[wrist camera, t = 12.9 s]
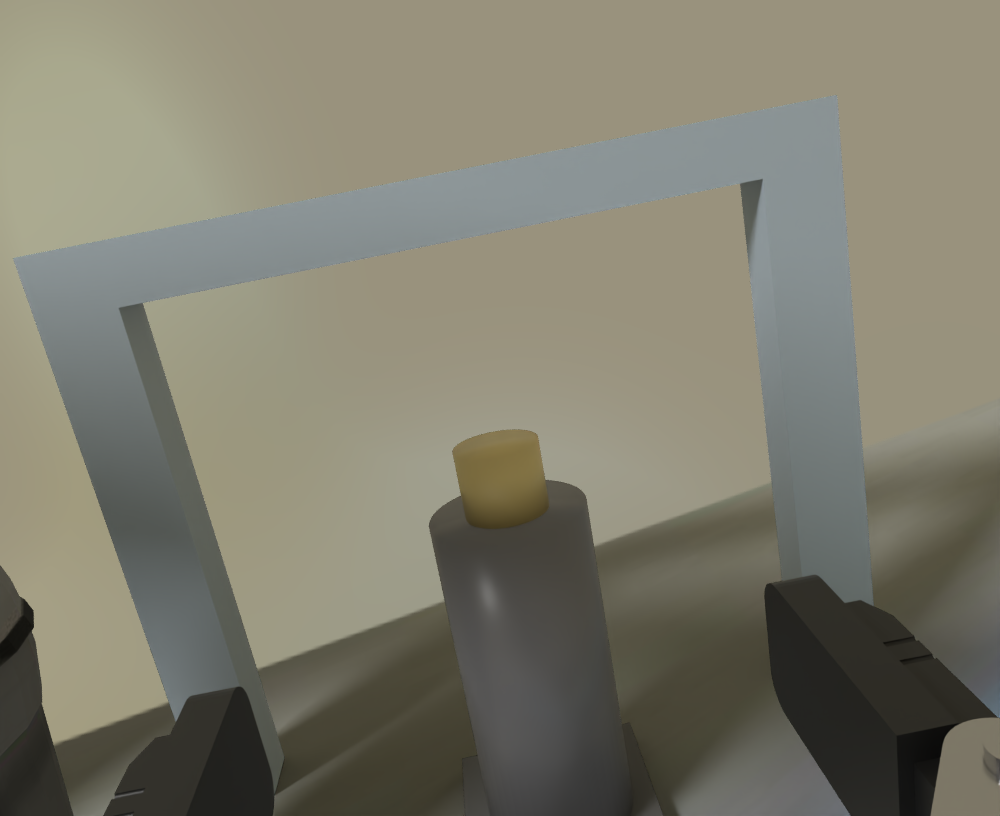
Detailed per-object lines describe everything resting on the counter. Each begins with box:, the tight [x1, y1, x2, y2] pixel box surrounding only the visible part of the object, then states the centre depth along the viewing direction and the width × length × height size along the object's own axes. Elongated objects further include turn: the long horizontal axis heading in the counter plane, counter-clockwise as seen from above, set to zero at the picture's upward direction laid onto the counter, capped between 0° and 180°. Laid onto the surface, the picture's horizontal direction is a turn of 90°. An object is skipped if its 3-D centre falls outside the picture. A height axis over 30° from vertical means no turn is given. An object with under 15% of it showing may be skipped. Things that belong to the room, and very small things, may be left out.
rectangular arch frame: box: [13, 95, 874, 794], centre depth 28 cm, size 25×2×20 cm, turn 94°
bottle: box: [429, 430, 633, 816], centre depth 24 cm, size 4×4×12 cm
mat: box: [462, 723, 663, 816], centre depth 26 cm, size 6×6×1 cm
